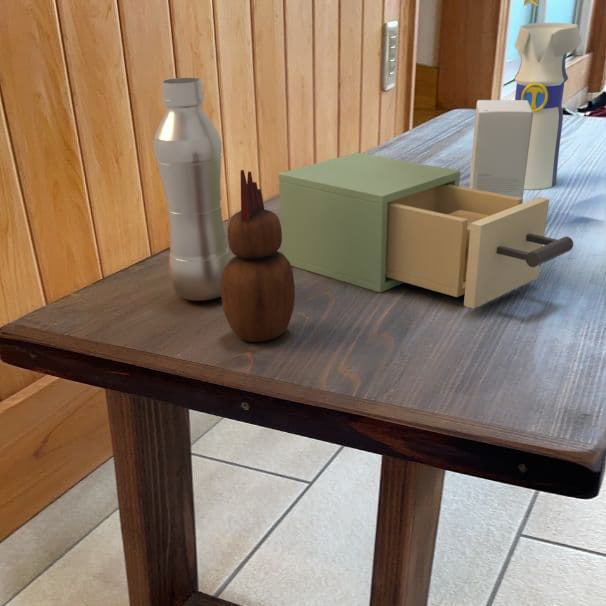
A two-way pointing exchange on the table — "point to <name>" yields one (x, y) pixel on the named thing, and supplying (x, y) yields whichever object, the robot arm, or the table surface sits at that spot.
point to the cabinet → (348, 214)
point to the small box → (501, 146)
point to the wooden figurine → (256, 271)
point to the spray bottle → (544, 93)
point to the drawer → (482, 244)
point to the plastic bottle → (191, 190)
